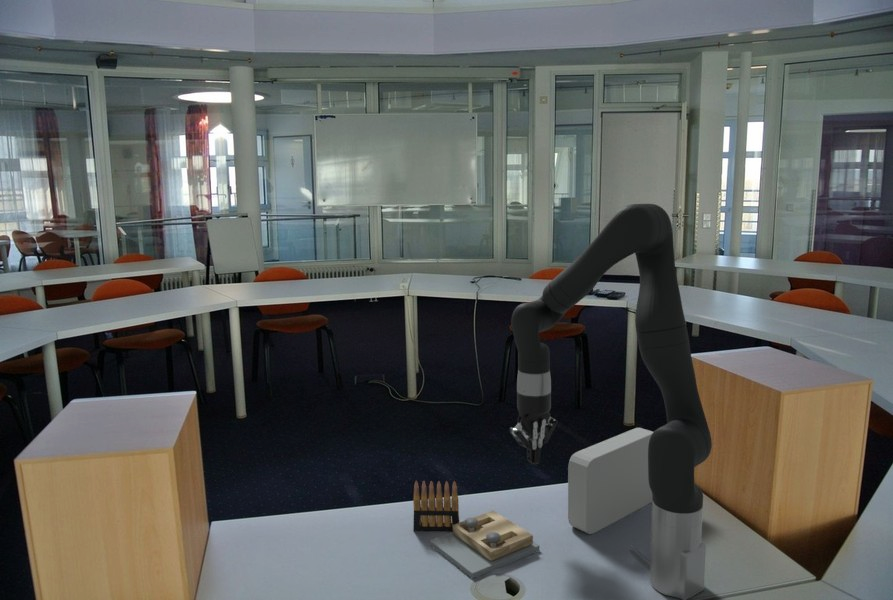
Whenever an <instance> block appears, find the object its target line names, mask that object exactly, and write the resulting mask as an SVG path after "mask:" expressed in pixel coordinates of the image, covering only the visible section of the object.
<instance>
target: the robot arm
mask: <svg viewBox="0 0 893 600" xmlns="http://www.w3.org/2000/svg"><path fill="white" fill-rule="evenodd" d="M673 235H674V234H673V226H672V221H671V218H670V216H669V214H668V212H667V211H666V210H665V209H664V208H663V207H661V206H659V205H657V204H654V203H633V204H628V205H626V206H623V207H621V208H620V209H619V210H618V211H617V212H616V213H615V214H614V215H613V216H612V217H611V219H610V220H609V221H608V222H607V224H606V225H605V226H604V227H603V228H602V230H601V231H600V232H599V233H598V235H597V236H596V237H595V238H594V239H593V240H592V242H591V243H589V245H588V246H587V248H585V249H584V250H583V252H582V253H581V254H579V256H578V257H576V259H574V260H573V262H571V264H569V265H568V266H566V267H565V269H563V270H562V271H561V272H560V273H558V275H557V276H555V277H554V278H553V279H552V280H551V281H550V282H548V284H546V286H545V287H544V289H543V290H542V295H541V296H540V297H539V298H537V299H536V300H532V301H529V302H525V303H520V304H519V305H517V306H516V307H515V309H513V312H512V315H511V320H510V321H511V322H510V324H511V330H512V334H513V337H514V342H515V346H516V349H517V378H516V408H517V410H518V417H517V424H516V425H515V426H514V427H513V426H511V427H509V430H508V431H509V433H510V434H511V435H512V437H513V438H514V439H515V441H516V442H517V443H518V444H519V446H521V447H523V448H525V449H526V460H527V462H528V463H529V464H531V465H537V464H540V461H541V455H542V453H541V451H542V450H541V449H542V447H543V445H544V444H546V445H547V444H548V443H549V441H550V439H551V436H552V434H553V432H554V430H555V429H556V427H557V426H558V421H559V420H557V419H555V418H553V417H552V416H551V412H550V411H551V408H552V378H551V377H552V376H551V351H550V347H549V346H548V345H547V344H546V343H543V342H541V339H540V333H542V332H545V331H548V330H550V329H552V328H553V327H554V326H555V325H556V324H558V322H559V321H561V319H562V318H563V317H564V316H565V314H566V313H567V312H568V311H569V310H570V309H571V308H573V307H574V306H575V305H576V304H578V303H579V302H580V301H582V299H584V298H585V297H586V296H587V295H589V294H590V292H592V290H593V289H594V288H595V287H596V285H598V282H599V281H600V280H601V279H602V277H603V276H604V275H605V274H606V273H607V272H608V271H609V270H610V269H611V268H612V267H614V266H615V265H617V264H618V263H619V262H621V261H623V260H625V259H626V258H628V257H630V256H632V255H633V254H635V258H636V262H637V267H638V273H639V289H638V296H637V301H636V308H635V331H636V337H637V341H638V342H637V343H638V344H637V345H638V348H639V353H640V356H641V359H642V361H643V364H644V365H645V367H646V369H647V370H648V372H649V374H650V375H651V377H652V378H653V380H654V381H655V382H656V384H657V386H658V388H659V389H660V391H661V394H662V398H663V401H664V408H665V415H666V422H667V423H666V424H663V426H659V428H657V429H655V430H654V431H652V432H653V433H652V435H651V437H650V440H649V445H648V479H649V486H650V489H651V491H652V502H651V530H650V531H651V533H650V536H651V537H650V538H651V539H650V571H649V573H650V574H649V583H650V585H651V586H652V587H653V588H654V589H655V590H656V591H657V592H659V593H661V594H662V595H664V596H668V597H673V598H678V599H681V600H688V599H690V598H692V597H694V596H695V595H697V594H700V592H703V591H704V590H705V575H706V574H705V573H706V555H707V554H706V553H707V552H706V551H707V550H706V548H707V546H706V544H705V543H703V542H702V532H703V529H702V528H703V509H704V508H703V507H704V493H703V490H702V489H701V488H700V487H699V486H697V485H696V484H695V468H697V466H699V465H701V464H702V463H704V462H705V461H706V460H707V459H708V458H709V456H710V454H711V452H712V445H713V443H712V435H711V432H710V428H709V424H708V420H707V417H706V415H705V411H704V408H703V405H702V402H701V398H700V394H699V389H698V384H697V377H696V373H695V369H694V363H693V358H692V357H693V356H692V352H691V346H690V345H691V344H690V338H689V332H688V328H687V322H686V319H685V314H684V313H685V312H684V309H683V304H682V303H683V302H682V298H681V292H680V287H679V283H678V277H677V271H676V262H675V261H676V260H675V249H674V246H675V245H674V236H673Z"/></svg>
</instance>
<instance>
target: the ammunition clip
mask: <svg viewBox="0 0 893 600" xmlns="http://www.w3.org/2000/svg"><path fill="white" fill-rule="evenodd" d="M449 485H450V484H449V482H448V481H447V480H446V481H445V484H444V490H443V491H444V493H443V491H442V484H441V481H440V480H438V481H437V484H436V496H435V487H434V482H433V481H432V480H431V481H430V483H429V486H428V490H427V485H426V481H425V480H423V481H422V484H421V495H420V487H419V483H418V480H415V482H414V487H413V528H412V530H413V532H427V533H428V532H432V533H433V532H436V533H437V532H439V533H440V532H441V533H442V532H443V533H444V532H446V533H451V532H453V525H454V524H457V523H460V513H459V512H460V511H459V510H460V509H459V508H460V507H459V495H458V487H457V483H456V481H455V480H454V481H453V482H452V487H451V493H450V486H449Z"/></svg>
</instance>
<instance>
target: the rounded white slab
mask: <svg viewBox="0 0 893 600" xmlns="http://www.w3.org/2000/svg"><path fill="white" fill-rule="evenodd" d="M653 432H654V431H652V430H649V429H645V428H642V427H635V428H633V429H630V430H627V431H625V432H622V433H620V434H618V435H614V436H613V437H610V438H607V439H605V440H603V441H601V442H598V443H595V444H593V445H590V446H588V447H586V448H583V449H581V450H578V451H576V452H574V453H572V455H571V456H570V459H569V462H568V467H567V471H568V472H567V473H568V475H567V520H568V524H569V525H570V526H571V527H573V528H574V529H577V530H579V531H582V532H583V533H586V534H587V535H593V534H595V533H597V532H599V531H602V530H603V529H604V528H607V527H608V526H611V525H612V524H614V523H616V522H617V521H620V520H621V519H623V518H625V517H627V516H629V515H631V514H633V513H634V512H636V511H638V510H640V509H642V508H643V507H646V506H648V505H649V504H652V491H651V489H650V486H649V479H648V445H649V440H650V437H651V435H652V433H653Z"/></svg>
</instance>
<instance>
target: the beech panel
mask: <svg viewBox="0 0 893 600" xmlns="http://www.w3.org/2000/svg"><path fill="white" fill-rule="evenodd" d="M473 518H475V519H477V520H478V526H476V527H474V529H475V530H476V531H473V532H470V533H469V532H467V531H468V530H469V527H466V526H465V520H463V521H459V523H457V524H454V525H453V534H454V535H456V536H457V537H459V538H460V539H461V540H463V541H464V542H465V543H467V544H468V545H470V546H471V547H472V548H474V549H475V550H477V551H478V552H479V553H481V554H482V555H483V556H485V557H486V558H488V559H489V560H490V561H492V560H494V559H497V558H499V557H502V556H504V555H507V554H509V553H512V552H514V551H516V550H519V549H521V548H524V547H526V546H529V545H531V544H533V542H534V535H533V534H531V533H530V532H529V531H527V530H525V529H524V528H523V527H521V526H518V525H517V524H515V523H514V522H512V521H511V520H509V519H507V518H506V517H505V516H503V515H501V514H500V513H498V512H496V511H495V510H491V511H488V512H486V513H483V514H480V515H477V516H475V517H474V516H473ZM480 528H481V529H480ZM477 529H478V530H477ZM491 532H495V533H498V534H500V541H499V542H497V543H496V544H497V545H499V544H502V543H504V544H502V545H499V546H497V547H494V548H490V547H489V546H490V545H491V543H490V542H488V541H487V540H486V535H487V534H488V533H491Z"/></svg>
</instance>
